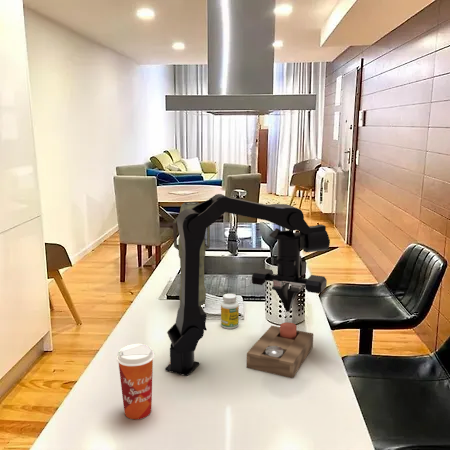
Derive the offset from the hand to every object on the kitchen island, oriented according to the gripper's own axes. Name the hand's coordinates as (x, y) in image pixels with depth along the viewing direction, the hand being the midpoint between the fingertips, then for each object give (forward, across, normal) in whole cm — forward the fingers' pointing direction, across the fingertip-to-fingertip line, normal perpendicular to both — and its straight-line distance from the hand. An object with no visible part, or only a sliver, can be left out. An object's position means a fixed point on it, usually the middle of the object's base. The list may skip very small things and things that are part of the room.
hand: (288, 311), depth 124 cm
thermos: (+11, +40, -16) cm, 44 cm away
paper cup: (+11, +19, +40) cm, 46 cm away
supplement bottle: (+12, +21, -8) cm, 25 cm away
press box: (+12, +1, +4) cm, 12 cm away
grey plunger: (+10, 0, +9) cm, 14 cm away
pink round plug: (+8, +1, -2) cm, 8 cm away
